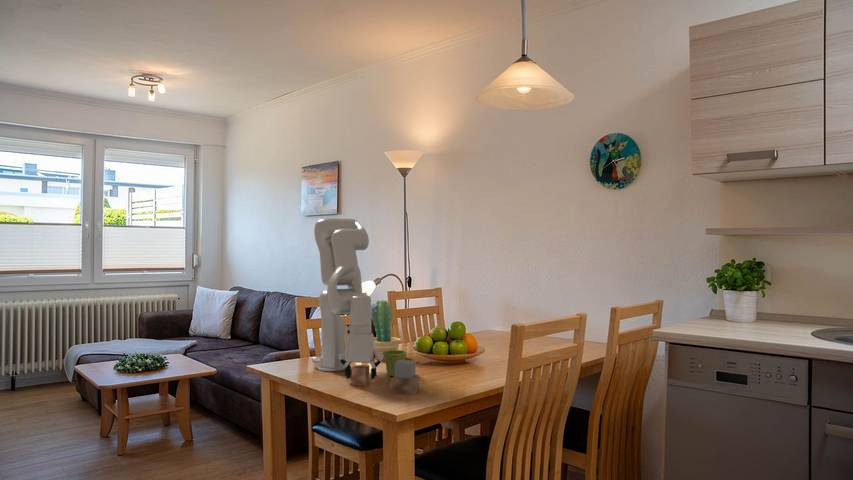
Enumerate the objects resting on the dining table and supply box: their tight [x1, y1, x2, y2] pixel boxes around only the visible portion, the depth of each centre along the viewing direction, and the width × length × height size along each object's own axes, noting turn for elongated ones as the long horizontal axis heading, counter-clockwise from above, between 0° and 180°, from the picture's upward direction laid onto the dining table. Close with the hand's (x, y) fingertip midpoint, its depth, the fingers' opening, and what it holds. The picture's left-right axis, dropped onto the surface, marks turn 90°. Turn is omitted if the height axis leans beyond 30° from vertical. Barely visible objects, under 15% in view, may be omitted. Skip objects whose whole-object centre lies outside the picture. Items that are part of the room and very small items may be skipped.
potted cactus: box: [371, 300, 402, 361], centre depth 256 cm, size 15×15×25 cm
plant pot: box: [383, 349, 408, 377], centre depth 222 cm, size 9×9×9 cm
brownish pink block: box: [351, 364, 370, 386], centre depth 209 cm, size 5×5×6 cm
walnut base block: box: [390, 374, 420, 395], centre depth 198 cm, size 8×8×5 cm
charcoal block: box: [393, 359, 417, 379], centre depth 198 cm, size 6×6×5 cm
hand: (360, 378), depth 209 cm, fingers open, 8 cm apart
